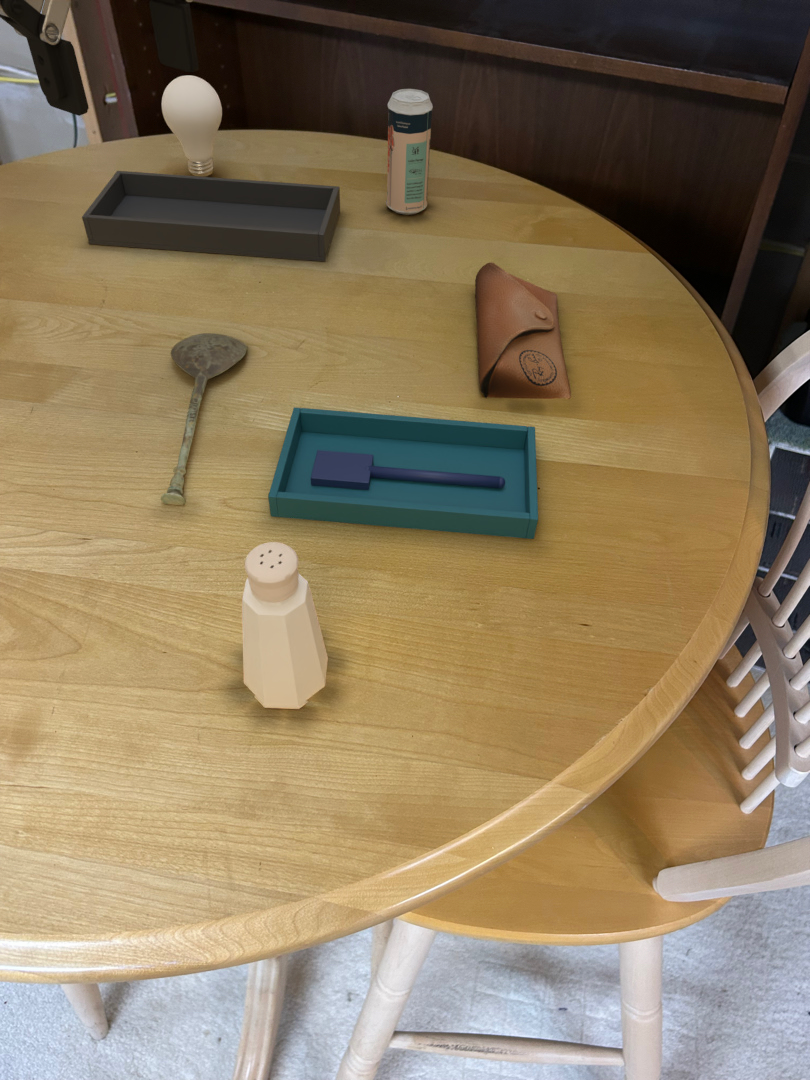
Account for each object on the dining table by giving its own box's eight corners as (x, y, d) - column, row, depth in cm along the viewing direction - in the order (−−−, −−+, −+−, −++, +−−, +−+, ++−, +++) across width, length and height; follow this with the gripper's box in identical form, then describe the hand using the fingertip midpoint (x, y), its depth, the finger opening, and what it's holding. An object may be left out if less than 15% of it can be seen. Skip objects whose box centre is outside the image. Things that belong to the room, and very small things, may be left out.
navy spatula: (310, 485, 61) (310, 476, 60) (317, 457, 63) (317, 448, 62) (504, 501, 60) (505, 493, 60) (504, 473, 62) (506, 464, 62)
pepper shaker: (226, 692, 49) (197, 578, 41) (271, 627, 52) (253, 509, 44) (304, 726, 48) (291, 614, 40) (345, 656, 51) (341, 540, 43)
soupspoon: (255, 347, 75) (184, 348, 75) (249, 314, 72) (176, 315, 72) (217, 510, 59) (128, 511, 59) (208, 475, 57) (116, 476, 57)
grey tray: (89, 244, 85) (81, 216, 83) (123, 196, 93) (117, 170, 90) (325, 261, 84) (323, 234, 82) (340, 212, 92) (339, 186, 89)
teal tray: (271, 520, 59) (267, 496, 57) (295, 431, 66) (293, 406, 64) (533, 543, 58) (538, 519, 56) (530, 450, 65) (535, 426, 63)
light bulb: (210, 160, 100) (196, 62, 92) (241, 179, 97) (229, 79, 88) (163, 175, 97) (144, 74, 88) (193, 194, 93) (177, 92, 85)
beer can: (401, 194, 95) (405, 83, 86) (435, 206, 93) (442, 94, 85) (377, 208, 93) (378, 96, 84) (411, 221, 91) (416, 107, 82)
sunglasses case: (578, 401, 69) (549, 342, 64) (502, 431, 71) (470, 376, 67) (557, 290, 81) (531, 234, 77) (493, 319, 83) (465, 267, 79)
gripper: (125, -289, 47) (179, 43, 59) (-159, -283, 37) (-22, 114, 50) (221, -282, 44) (256, 64, 57) (-57, -274, 34) (60, 143, 47)
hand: (127, 87), depth 53 cm, fingers open, 9 cm apart
